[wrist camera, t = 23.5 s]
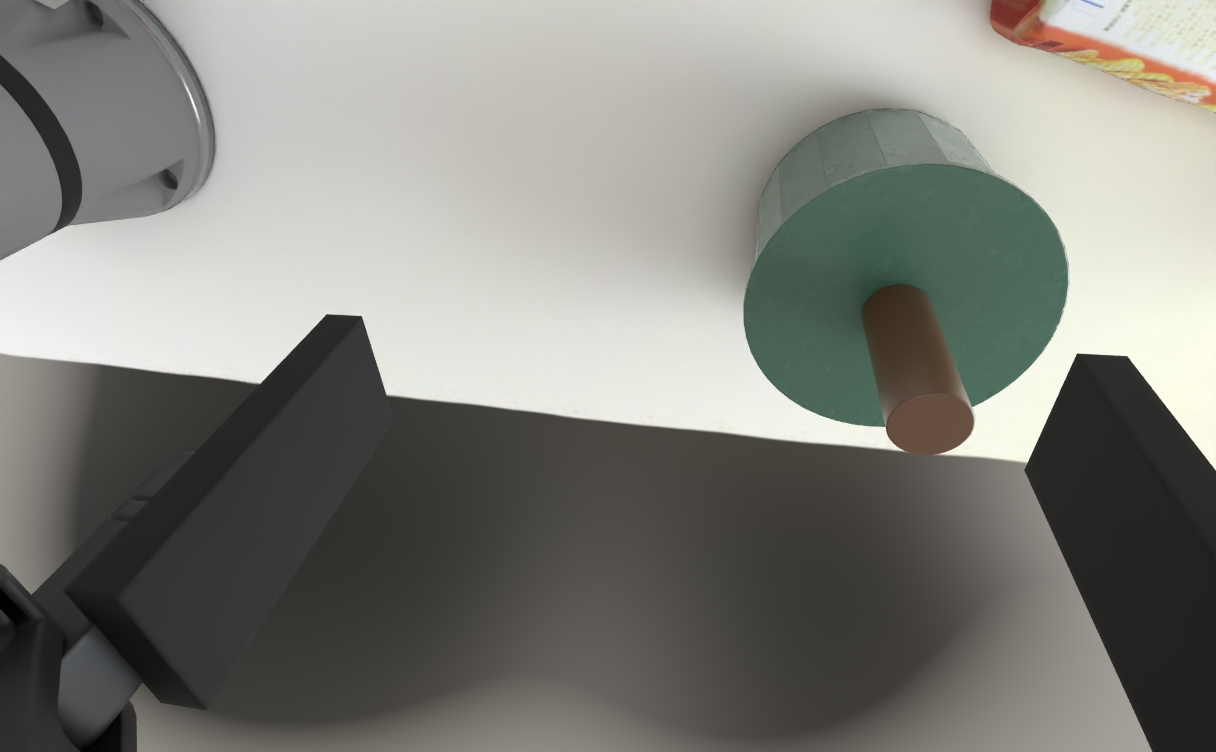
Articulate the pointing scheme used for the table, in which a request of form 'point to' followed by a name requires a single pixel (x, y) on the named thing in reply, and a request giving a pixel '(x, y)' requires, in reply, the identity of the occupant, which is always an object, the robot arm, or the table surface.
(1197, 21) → the snack package
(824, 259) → the lid
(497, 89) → the table surface
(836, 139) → the tin
